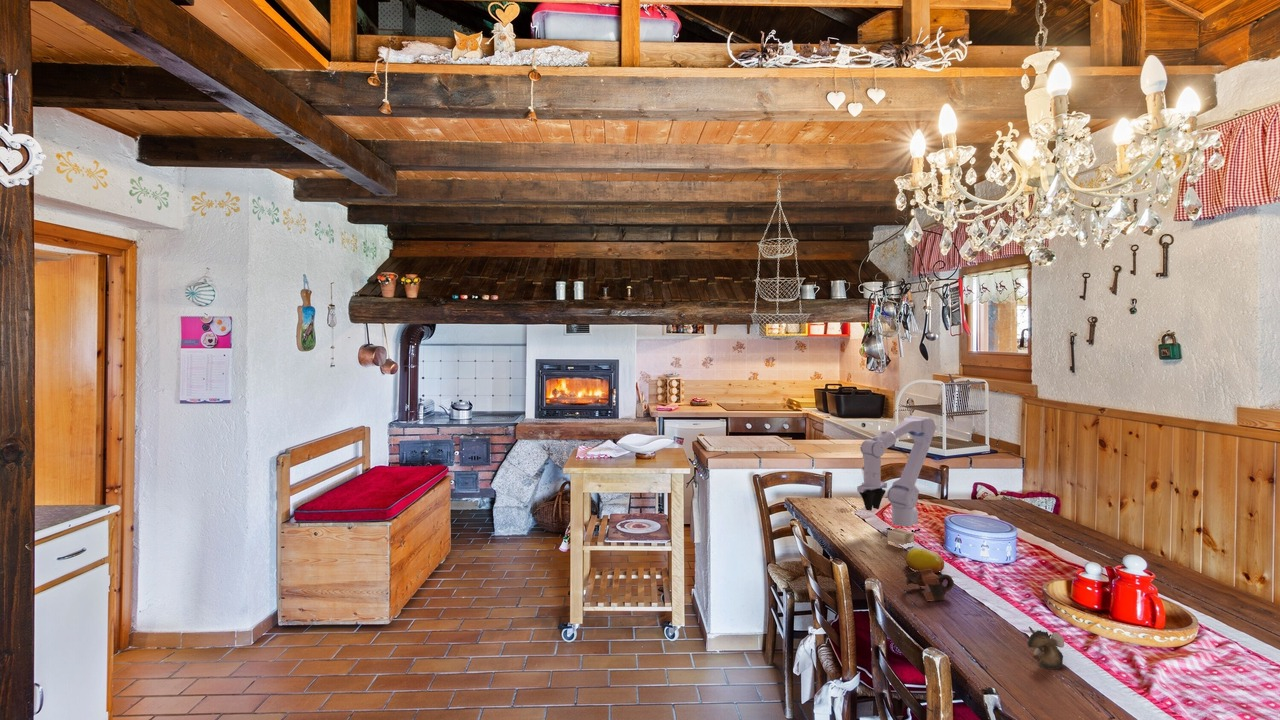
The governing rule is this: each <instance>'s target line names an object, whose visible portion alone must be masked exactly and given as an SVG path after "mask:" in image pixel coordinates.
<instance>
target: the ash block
mask: <svg viewBox="0 0 1280 720" xmlns="http://www.w3.org/2000/svg"><path fill="white" fill-rule="evenodd" d="M888 541H891V542H894V543H897V544H901V545H904V544H907V543H911V542H914V543H915V531H913V532H910V531H907V530H903V529H900V528H897V529H893V530H891V529H888V530H887V542H888Z"/></svg>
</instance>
